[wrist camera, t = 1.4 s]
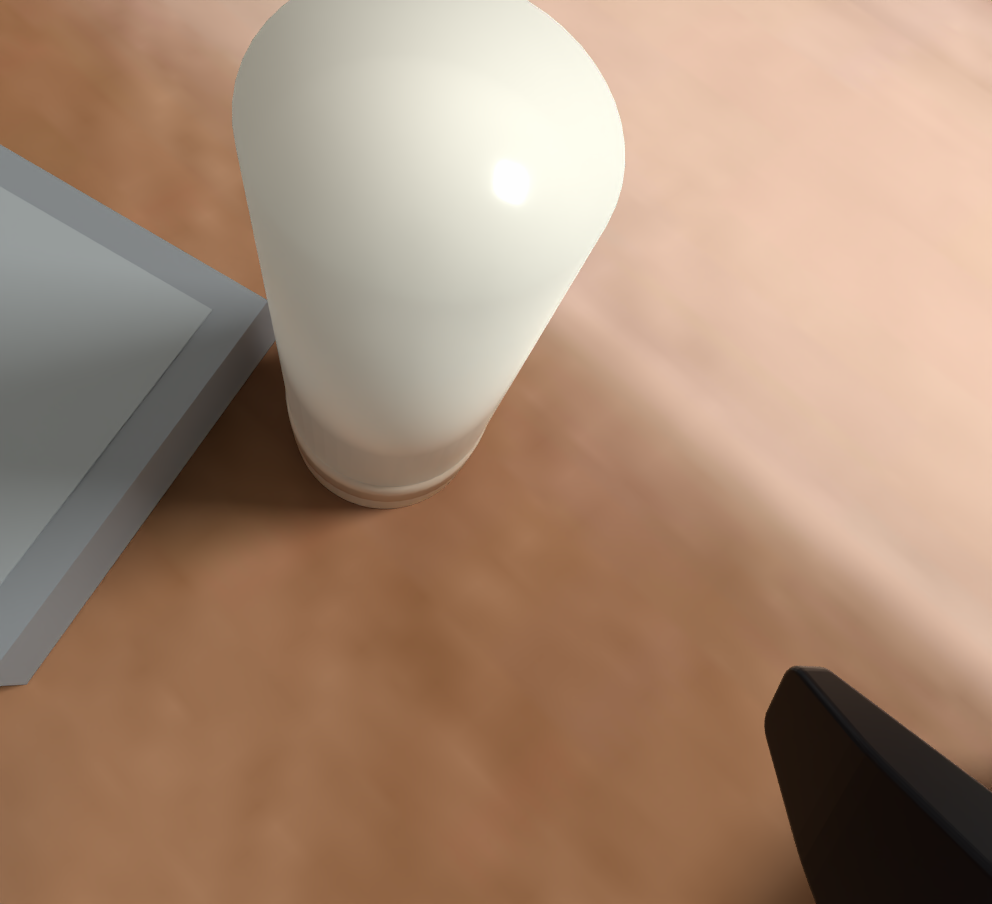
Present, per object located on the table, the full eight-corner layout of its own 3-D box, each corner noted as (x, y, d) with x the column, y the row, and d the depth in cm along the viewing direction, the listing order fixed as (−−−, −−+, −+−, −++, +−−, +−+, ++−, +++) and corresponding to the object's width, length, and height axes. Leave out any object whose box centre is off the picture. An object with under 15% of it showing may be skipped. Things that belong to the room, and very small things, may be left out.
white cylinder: (418, 544, 22) (519, 384, 9) (255, 450, 21) (137, 160, 9) (505, 395, 23) (686, 93, 11) (354, 307, 23) (367, -100, 11)
